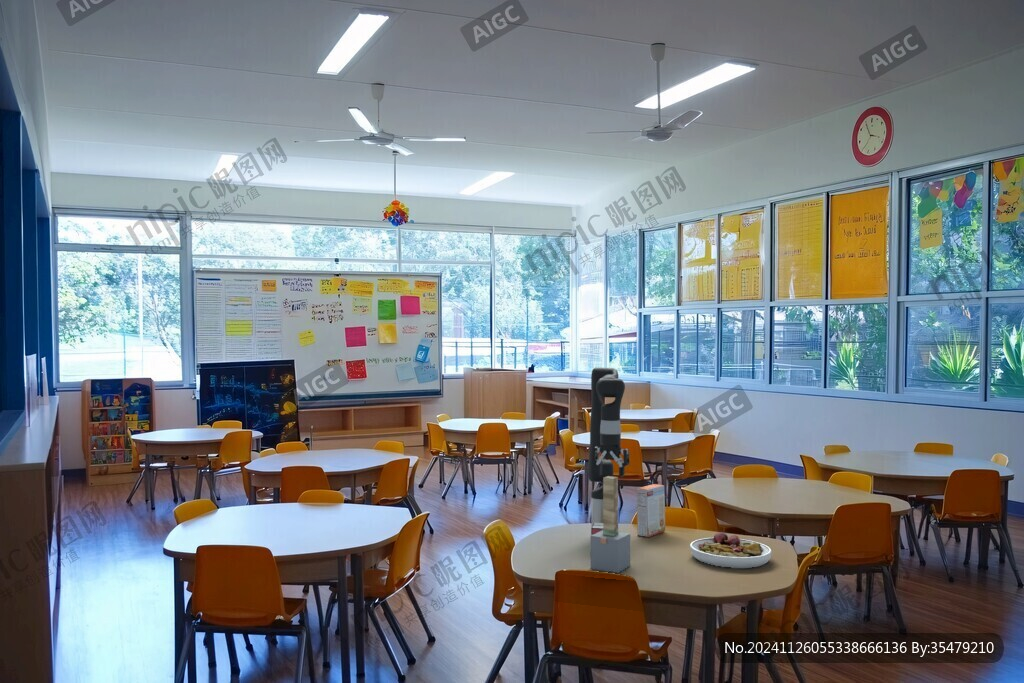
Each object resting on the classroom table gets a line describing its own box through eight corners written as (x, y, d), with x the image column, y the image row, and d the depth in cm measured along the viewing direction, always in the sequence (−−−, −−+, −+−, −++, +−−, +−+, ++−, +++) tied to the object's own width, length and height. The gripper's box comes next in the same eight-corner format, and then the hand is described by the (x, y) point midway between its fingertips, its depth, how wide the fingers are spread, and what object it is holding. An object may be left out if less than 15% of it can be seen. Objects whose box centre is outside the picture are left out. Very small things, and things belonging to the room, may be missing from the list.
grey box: (603, 561, 285) (603, 529, 286) (630, 565, 279) (630, 533, 280) (589, 568, 276) (589, 536, 276) (616, 573, 270) (616, 540, 270)
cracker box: (654, 530, 336) (653, 483, 336) (665, 532, 332) (665, 485, 332) (636, 535, 326) (636, 487, 326) (648, 538, 322) (647, 489, 322)
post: (607, 540, 281) (607, 476, 281) (618, 541, 279) (618, 477, 279) (602, 542, 277) (602, 477, 278) (613, 544, 275) (613, 478, 275)
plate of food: (784, 570, 275) (784, 549, 275) (703, 571, 273) (703, 550, 273) (753, 549, 305) (753, 529, 305) (681, 550, 303) (681, 530, 303)
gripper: (632, 432, 278) (632, 476, 277) (597, 430, 285) (597, 472, 285) (623, 434, 271) (624, 479, 271) (588, 432, 279) (588, 475, 279)
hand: (610, 475), depth 278 cm, fingers open, 8 cm apart
